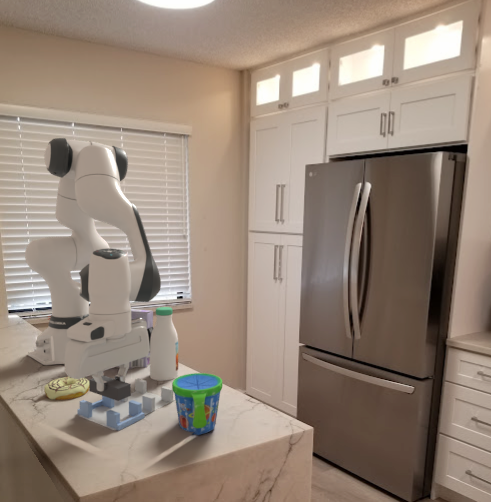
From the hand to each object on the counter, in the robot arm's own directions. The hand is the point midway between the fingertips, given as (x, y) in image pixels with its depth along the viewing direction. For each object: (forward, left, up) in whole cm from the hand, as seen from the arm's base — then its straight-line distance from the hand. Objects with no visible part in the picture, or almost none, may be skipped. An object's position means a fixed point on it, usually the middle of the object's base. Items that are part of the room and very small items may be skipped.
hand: (111, 386), depth 92 cm
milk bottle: (-8, +25, -8) cm, 27 cm away
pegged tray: (0, +5, -8) cm, 9 cm away
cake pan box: (-26, +26, -8) cm, 38 cm away
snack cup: (+18, +8, -8) cm, 21 cm away
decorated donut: (-20, +3, -8) cm, 22 cm away
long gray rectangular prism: (-1, 0, -2) cm, 2 cm away
